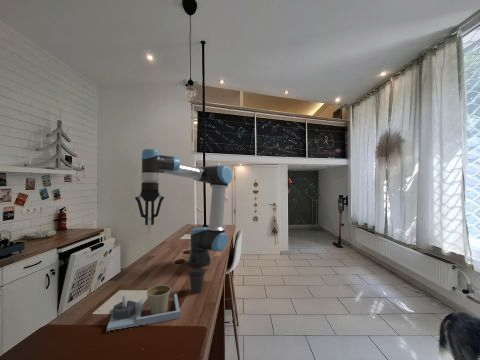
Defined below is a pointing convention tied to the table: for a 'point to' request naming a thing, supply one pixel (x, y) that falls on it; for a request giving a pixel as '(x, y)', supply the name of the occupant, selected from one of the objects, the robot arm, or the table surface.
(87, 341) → the table surface
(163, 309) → the flower pot
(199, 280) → the coffee cup
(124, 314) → the faceted octagonal hub
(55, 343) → the table surface
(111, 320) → the tray
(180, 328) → the table surface
